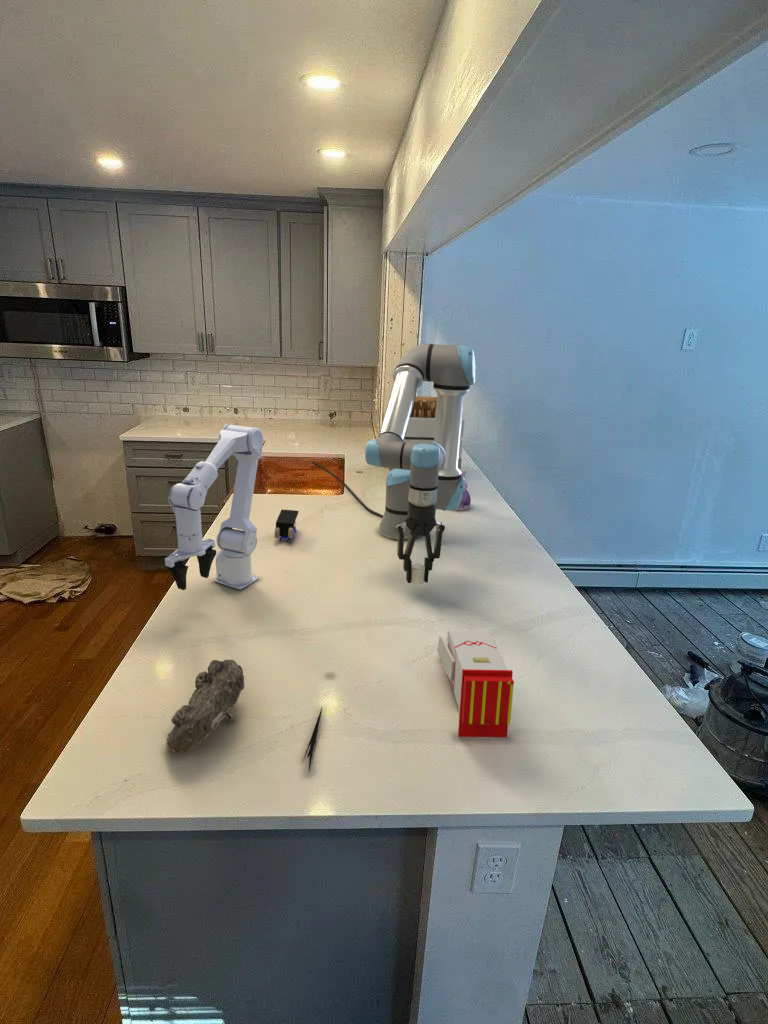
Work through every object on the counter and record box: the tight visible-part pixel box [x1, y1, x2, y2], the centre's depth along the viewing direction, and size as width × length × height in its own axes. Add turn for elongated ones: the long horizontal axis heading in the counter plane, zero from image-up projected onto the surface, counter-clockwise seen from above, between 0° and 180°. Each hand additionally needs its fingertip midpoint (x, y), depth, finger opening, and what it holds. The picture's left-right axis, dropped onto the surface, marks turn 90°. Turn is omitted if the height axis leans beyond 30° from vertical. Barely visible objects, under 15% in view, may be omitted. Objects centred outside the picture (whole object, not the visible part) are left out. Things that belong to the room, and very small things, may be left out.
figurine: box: [456, 470, 472, 511], centre depth 227 cm, size 9×10×15 cm
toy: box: [437, 628, 515, 738], centre depth 117 cm, size 12×13×30 cm
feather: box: [301, 673, 332, 771], centre depth 108 cm, size 2×28×2 cm
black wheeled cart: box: [273, 509, 300, 543], centre depth 192 cm, size 7×8×15 cm
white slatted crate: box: [389, 395, 465, 472], centre depth 268 cm, size 34×33×41 cm
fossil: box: [166, 658, 245, 754], centre depth 106 cm, size 22×10×15 cm
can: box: [410, 563, 425, 586], centre depth 159 cm, size 4×4×4 cm
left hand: (193, 582), depth 141 cm, fingers open, 7 cm apart
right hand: (416, 580), depth 160 cm, fingers closed on can, 4 cm apart
